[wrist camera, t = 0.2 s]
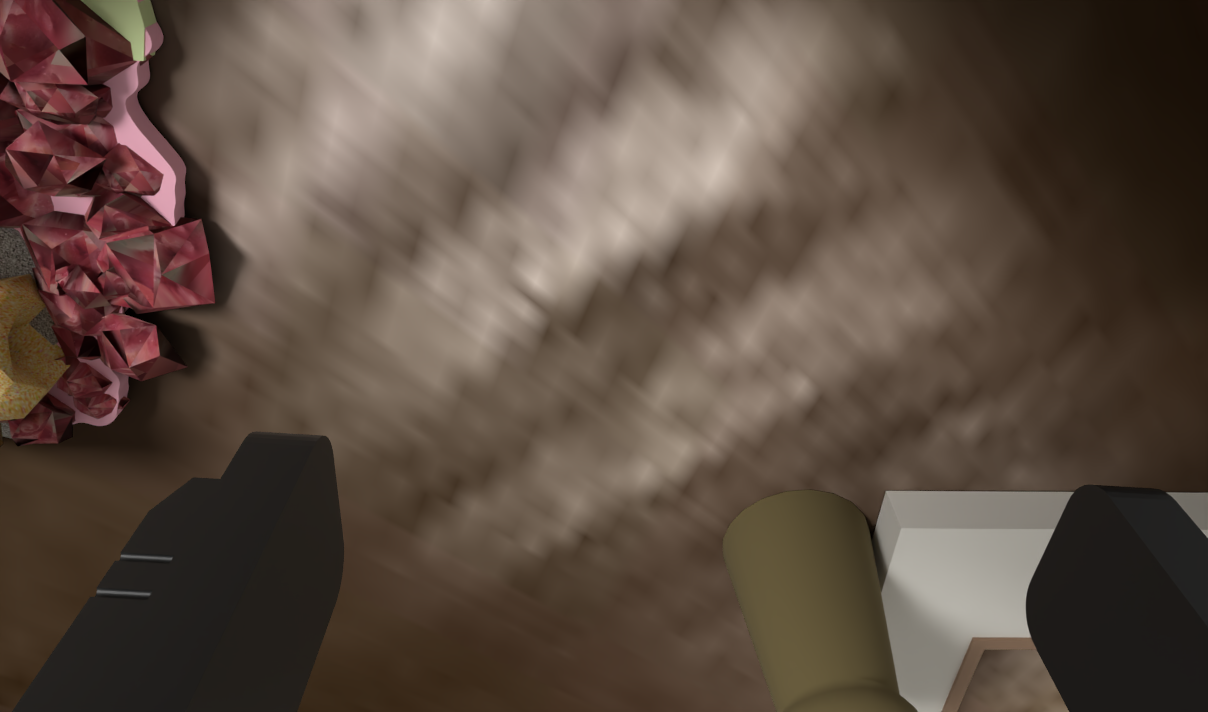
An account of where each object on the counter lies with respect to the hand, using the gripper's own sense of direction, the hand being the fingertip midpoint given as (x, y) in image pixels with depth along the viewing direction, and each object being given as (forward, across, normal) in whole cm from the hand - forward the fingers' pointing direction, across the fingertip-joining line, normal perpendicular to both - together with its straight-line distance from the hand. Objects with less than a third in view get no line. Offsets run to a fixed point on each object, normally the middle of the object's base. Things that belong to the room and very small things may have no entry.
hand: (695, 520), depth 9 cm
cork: (+19, -8, +18) cm, 27 cm away
